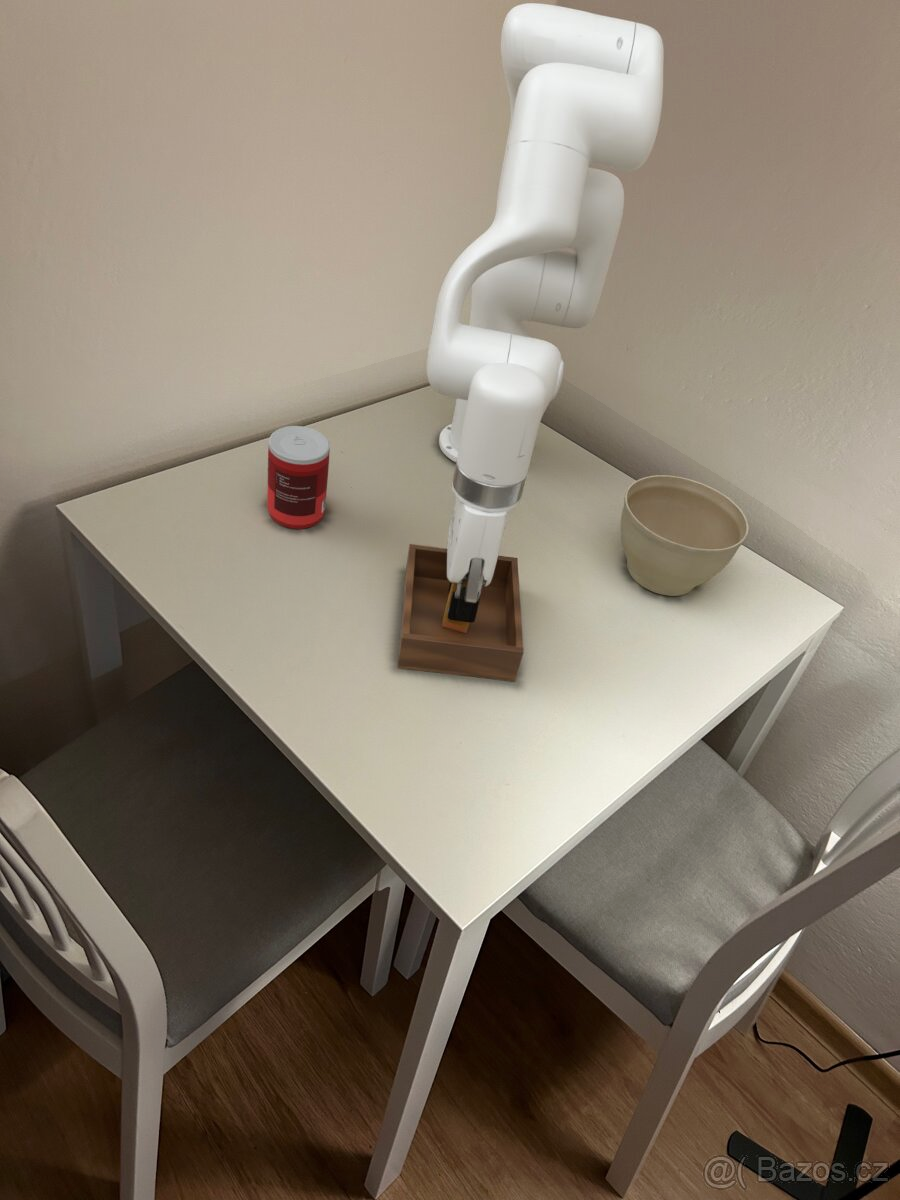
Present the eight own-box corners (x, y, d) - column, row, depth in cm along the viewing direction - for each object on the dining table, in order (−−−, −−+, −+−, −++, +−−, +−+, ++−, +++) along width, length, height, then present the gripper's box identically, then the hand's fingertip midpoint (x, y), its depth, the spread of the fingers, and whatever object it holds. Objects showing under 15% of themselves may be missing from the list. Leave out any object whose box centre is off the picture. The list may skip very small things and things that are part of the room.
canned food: (305, 488, 124) (309, 420, 117) (336, 521, 120) (342, 451, 113) (255, 503, 120) (256, 432, 113) (285, 536, 116) (288, 466, 108)
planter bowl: (743, 599, 121) (774, 536, 114) (649, 626, 114) (677, 560, 107) (670, 528, 131) (695, 466, 123) (580, 548, 124) (601, 484, 116)
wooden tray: (404, 573, 114) (409, 543, 111) (509, 586, 115) (517, 557, 112) (397, 667, 102) (402, 637, 98) (514, 681, 103) (523, 652, 100)
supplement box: (468, 635, 107) (483, 572, 100) (440, 627, 107) (453, 564, 100) (473, 617, 109) (488, 554, 103) (446, 609, 110) (459, 546, 103)
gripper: (454, 433, 100) (431, 558, 112) (452, 523, 88) (427, 653, 100) (520, 442, 101) (490, 566, 113) (527, 533, 89) (493, 660, 101)
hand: (461, 605), depth 106 cm, fingers closed on supplement box, 3 cm apart
